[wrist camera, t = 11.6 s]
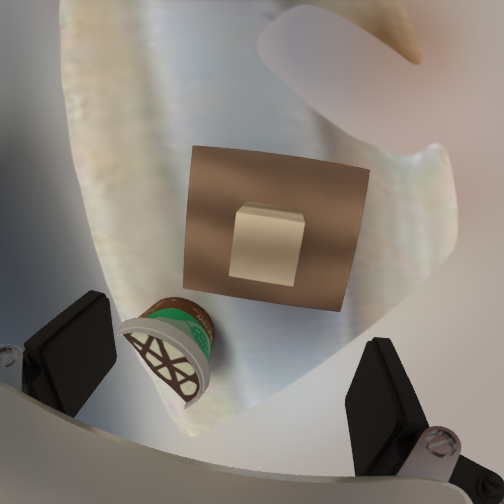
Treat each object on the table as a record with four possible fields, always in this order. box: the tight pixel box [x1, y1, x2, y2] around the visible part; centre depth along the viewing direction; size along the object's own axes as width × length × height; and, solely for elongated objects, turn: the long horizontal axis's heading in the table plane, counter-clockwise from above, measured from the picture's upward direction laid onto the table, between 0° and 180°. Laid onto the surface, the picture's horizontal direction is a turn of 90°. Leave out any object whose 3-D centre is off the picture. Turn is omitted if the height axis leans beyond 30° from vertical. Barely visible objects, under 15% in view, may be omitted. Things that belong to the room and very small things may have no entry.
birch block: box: [229, 201, 305, 287], centre depth 25 cm, size 5×5×6 cm
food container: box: [116, 297, 215, 409], centre depth 33 cm, size 12×6×10 cm, turn 35°
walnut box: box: [183, 146, 370, 312], centre depth 31 cm, size 14×16×5 cm
